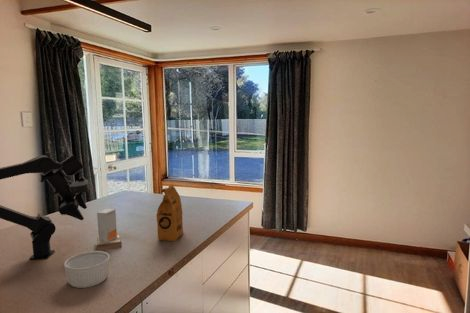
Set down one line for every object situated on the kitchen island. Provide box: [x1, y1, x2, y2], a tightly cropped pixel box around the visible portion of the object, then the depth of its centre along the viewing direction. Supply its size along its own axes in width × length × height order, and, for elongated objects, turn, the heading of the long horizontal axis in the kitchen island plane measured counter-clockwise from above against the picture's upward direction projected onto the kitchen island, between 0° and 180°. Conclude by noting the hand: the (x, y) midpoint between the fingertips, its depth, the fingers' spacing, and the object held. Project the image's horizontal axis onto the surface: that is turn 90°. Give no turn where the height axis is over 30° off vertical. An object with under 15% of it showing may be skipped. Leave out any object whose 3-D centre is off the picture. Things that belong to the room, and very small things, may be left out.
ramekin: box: [63, 250, 111, 289], centre depth 104 cm, size 13×13×7 cm
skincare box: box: [96, 208, 118, 242], centre depth 131 cm, size 6×4×12 cm
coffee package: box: [156, 183, 184, 242], centre depth 139 cm, size 10×12×22 cm
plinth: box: [96, 233, 122, 252], centre depth 132 cm, size 9×9×2 cm
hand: (84, 213), depth 132 cm, fingers open, 9 cm apart
